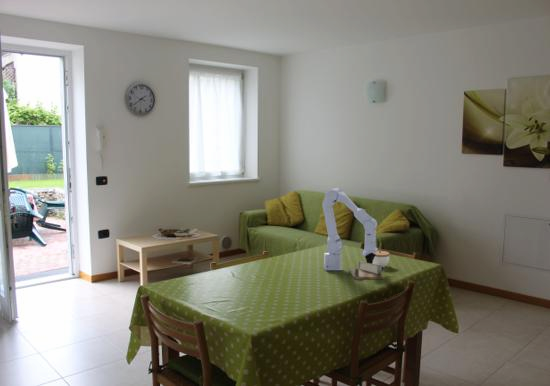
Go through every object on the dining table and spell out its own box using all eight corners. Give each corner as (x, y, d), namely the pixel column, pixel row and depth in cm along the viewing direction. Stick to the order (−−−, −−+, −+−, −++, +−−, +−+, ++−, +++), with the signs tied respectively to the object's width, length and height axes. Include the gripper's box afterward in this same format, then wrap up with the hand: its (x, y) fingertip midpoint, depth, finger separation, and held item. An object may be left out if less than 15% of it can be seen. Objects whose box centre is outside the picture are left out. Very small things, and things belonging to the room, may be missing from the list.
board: (353, 279, 249) (354, 269, 248) (348, 271, 264) (349, 262, 263) (383, 279, 249) (383, 269, 249) (376, 271, 264) (376, 262, 263)
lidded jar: (388, 264, 279) (388, 248, 278) (390, 269, 268) (391, 252, 267) (368, 263, 280) (369, 247, 279) (370, 268, 269) (371, 251, 268)
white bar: (382, 273, 253) (382, 265, 252) (379, 274, 252) (380, 266, 251) (360, 268, 264) (360, 260, 263) (358, 268, 263) (358, 260, 262)
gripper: (370, 245, 250) (369, 271, 251) (383, 240, 261) (382, 265, 263) (358, 243, 254) (357, 268, 256) (371, 238, 265) (370, 263, 267)
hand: (369, 267), depth 259 cm, fingers closed, pressing on white bar
